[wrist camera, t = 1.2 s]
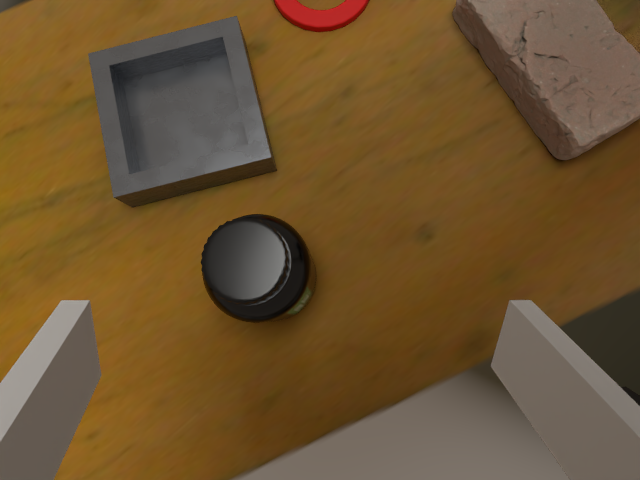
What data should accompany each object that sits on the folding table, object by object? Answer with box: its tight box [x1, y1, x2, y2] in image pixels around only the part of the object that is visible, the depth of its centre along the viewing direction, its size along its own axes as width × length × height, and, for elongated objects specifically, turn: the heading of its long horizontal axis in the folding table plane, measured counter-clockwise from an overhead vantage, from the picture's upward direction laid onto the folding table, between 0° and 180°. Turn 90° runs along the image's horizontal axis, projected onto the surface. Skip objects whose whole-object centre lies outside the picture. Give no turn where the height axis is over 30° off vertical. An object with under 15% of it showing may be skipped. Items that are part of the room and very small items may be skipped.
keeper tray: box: [88, 16, 277, 207], centre depth 37 cm, size 12×12×3 cm
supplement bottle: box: [201, 214, 316, 323], centre depth 30 cm, size 7×7×12 cm
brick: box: [453, 0, 640, 160], centre depth 36 cm, size 17×8×5 cm, turn 30°
